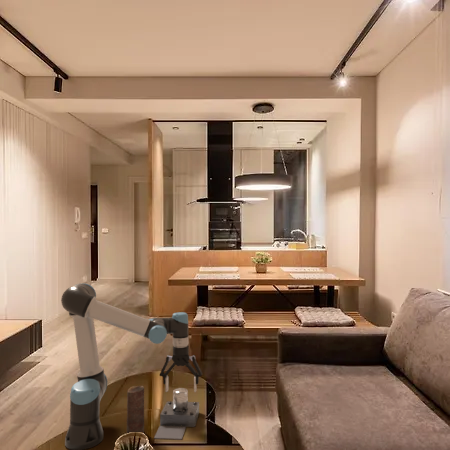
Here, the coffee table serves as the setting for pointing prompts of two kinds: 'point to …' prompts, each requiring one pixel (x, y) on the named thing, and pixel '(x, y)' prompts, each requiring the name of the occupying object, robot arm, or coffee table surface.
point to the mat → (170, 432)
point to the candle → (135, 409)
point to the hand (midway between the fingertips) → (181, 391)
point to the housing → (179, 415)
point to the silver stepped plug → (180, 399)
